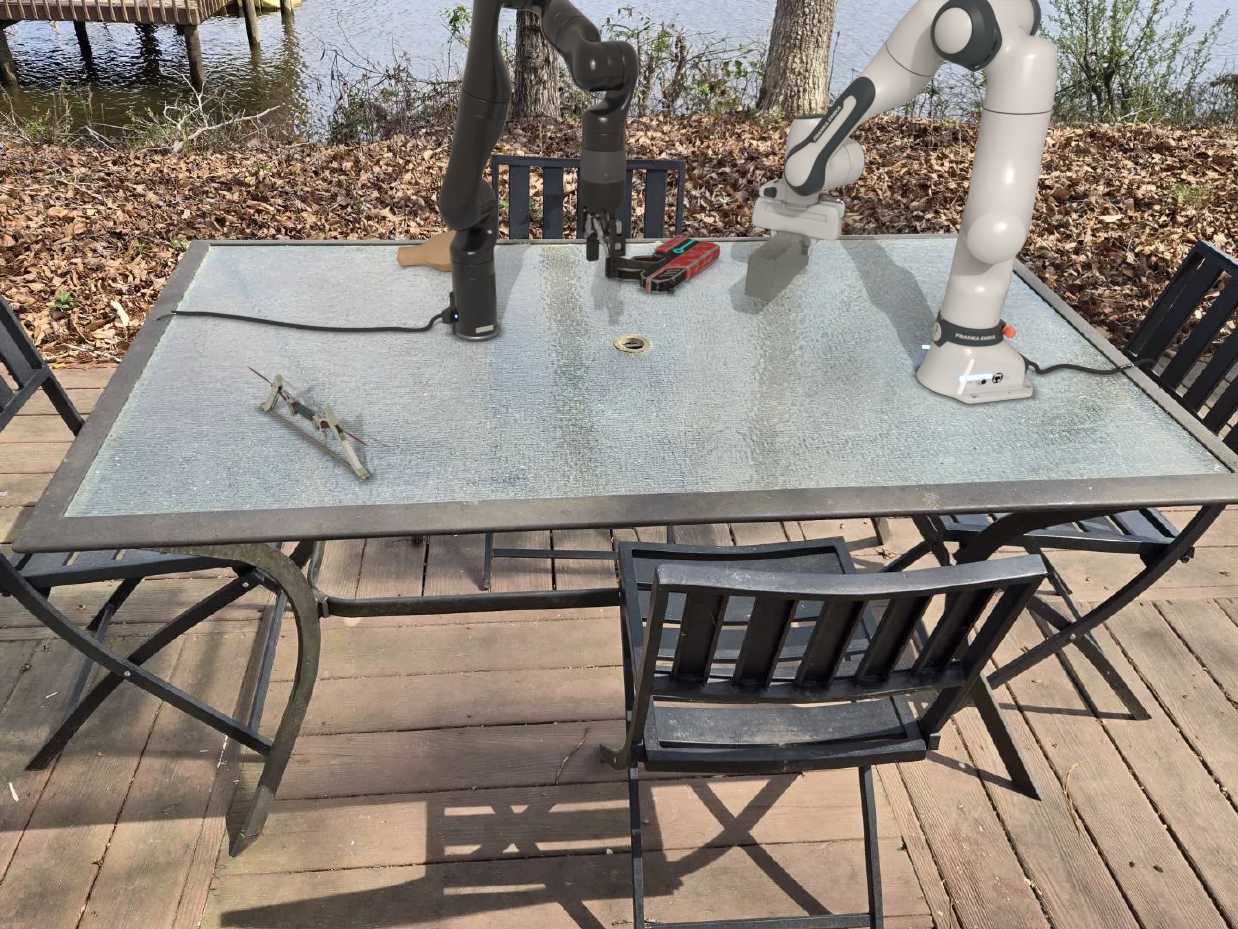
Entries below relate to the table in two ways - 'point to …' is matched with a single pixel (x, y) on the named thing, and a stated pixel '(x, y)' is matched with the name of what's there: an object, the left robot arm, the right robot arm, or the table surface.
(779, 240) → the bar
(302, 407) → the bow
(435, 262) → the squash
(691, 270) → the gun
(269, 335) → the table surface
